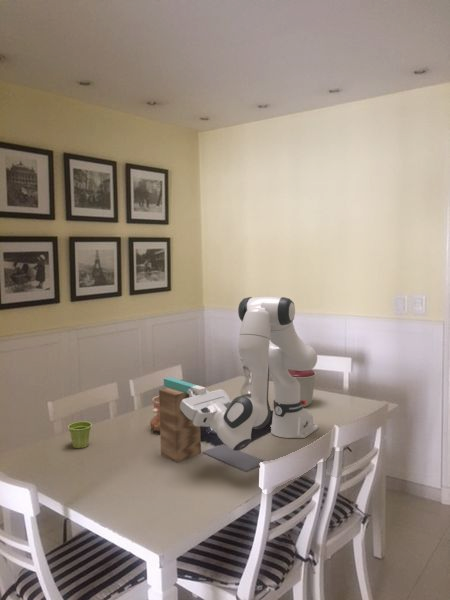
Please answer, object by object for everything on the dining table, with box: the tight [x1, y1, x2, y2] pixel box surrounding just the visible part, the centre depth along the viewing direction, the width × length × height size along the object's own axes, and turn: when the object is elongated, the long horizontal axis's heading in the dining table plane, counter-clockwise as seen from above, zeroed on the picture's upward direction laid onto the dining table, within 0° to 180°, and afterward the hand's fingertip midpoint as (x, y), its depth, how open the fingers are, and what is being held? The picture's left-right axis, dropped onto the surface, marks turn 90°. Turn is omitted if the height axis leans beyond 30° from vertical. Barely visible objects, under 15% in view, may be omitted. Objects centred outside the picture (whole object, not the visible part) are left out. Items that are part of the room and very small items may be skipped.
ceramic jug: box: [149, 395, 160, 433], centre depth 223 cm, size 18×14×14 cm
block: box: [163, 376, 207, 396], centre depth 191 cm, size 3×22×3 cm, turn 43°
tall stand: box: [158, 387, 202, 463], centre depth 195 cm, size 12×10×26 cm
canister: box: [288, 369, 317, 408], centre depth 255 cm, size 18×18×21 cm
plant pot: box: [67, 421, 93, 449], centre depth 206 cm, size 9×9×9 cm
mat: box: [202, 443, 265, 473], centre depth 192 cm, size 11×24×1 cm, turn 43°
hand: (193, 388), depth 187 cm, fingers closed on block, 3 cm apart
